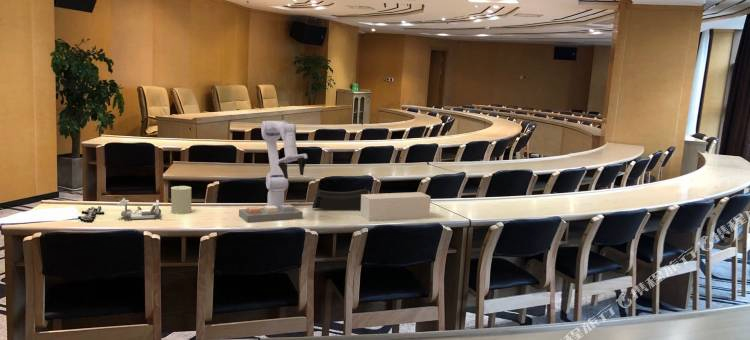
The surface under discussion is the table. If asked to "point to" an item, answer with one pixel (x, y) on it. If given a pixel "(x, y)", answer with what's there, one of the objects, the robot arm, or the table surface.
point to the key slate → (286, 207)
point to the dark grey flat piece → (90, 214)
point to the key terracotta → (253, 210)
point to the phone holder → (140, 214)
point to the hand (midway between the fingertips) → (294, 176)
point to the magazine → (339, 200)
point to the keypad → (270, 215)
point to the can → (181, 199)
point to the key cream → (270, 209)
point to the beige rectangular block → (395, 206)
